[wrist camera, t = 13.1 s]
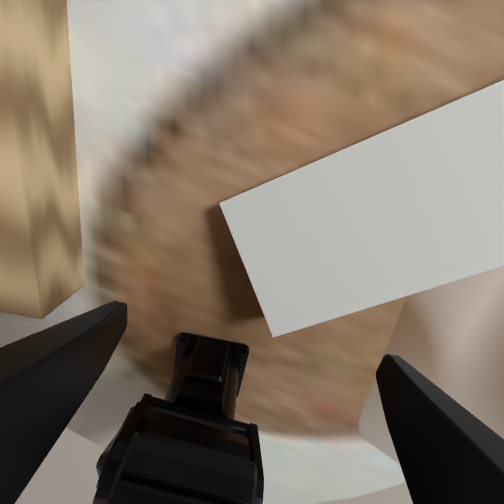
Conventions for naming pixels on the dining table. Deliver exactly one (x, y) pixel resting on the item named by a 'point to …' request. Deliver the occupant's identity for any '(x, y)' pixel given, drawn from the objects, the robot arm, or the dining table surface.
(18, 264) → the oak slat
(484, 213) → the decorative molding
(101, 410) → the dining table surface
